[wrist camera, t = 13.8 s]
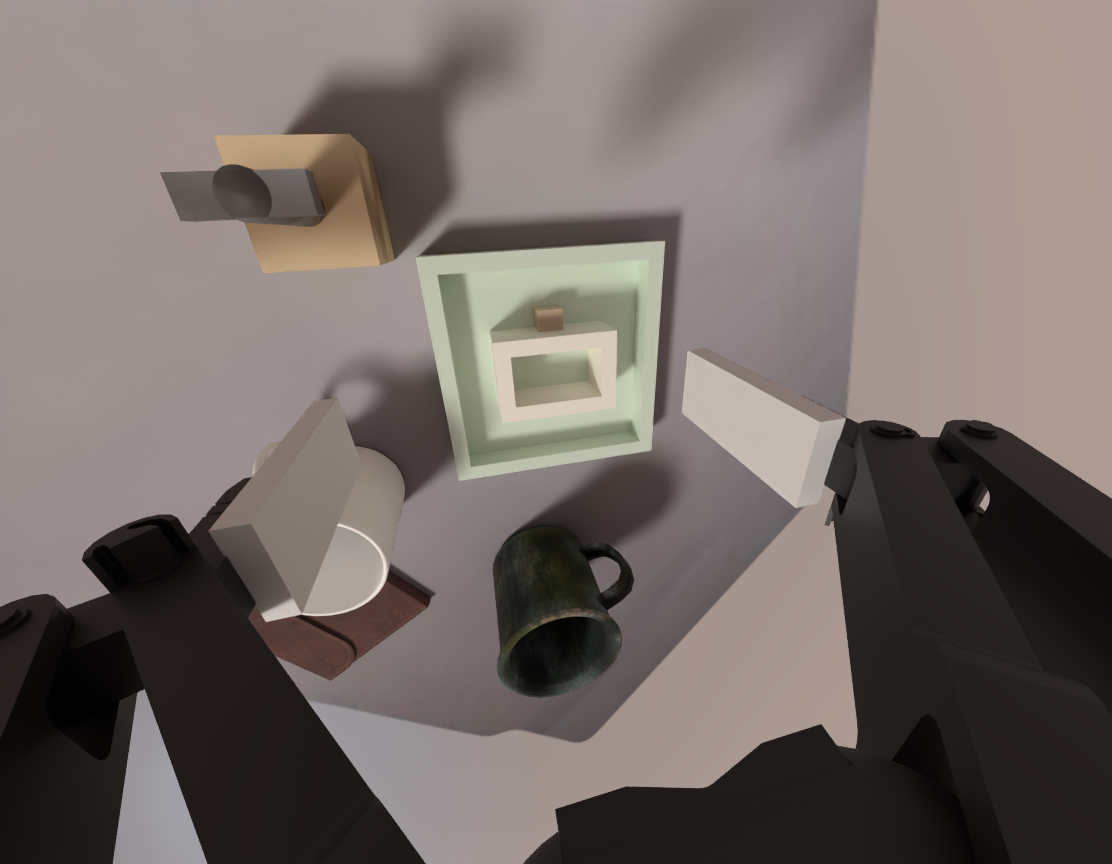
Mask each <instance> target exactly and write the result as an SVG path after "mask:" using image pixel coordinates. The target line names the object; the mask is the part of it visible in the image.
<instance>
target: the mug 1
mask: <svg viewBox="0 0 1112 864" xmlns="http://www.w3.org/2000/svg"><path fill="white" fill-rule="evenodd" d="M280 442H281V441H279V442H275V443H273V444H271V445H269V446H267V447H266V448H265V449H264V450H262V451H261V452H260V454H259V455H258V457H257V458H256V461H255V463H254V467H253V475H254V474H255V473H256V472H257V471H258V469H259V468H260V467H261V466H262V464H263V463H264V462H265V461H266V458H267V455H268V453H269V452H271V451H273V450H275V448H276V447H277V446H278V445H279V443H280ZM355 448H356V451H357V453H358V456H359V459H360V462H361V467H360V470H359V472H358V475H357V477H356V480H355V482H354V485H353V487H352V490H351V493H350V495H349V498H348V500H347V503H346V505H345V508H344V510H343V513H342V515H341V518H340V520H339V523H338V525H337V528H336V530H335V533H334V535H333V538H332V540H331V543H330V545H329V548H328V550H327V553H326V555H325V558H324V560H323V563H322V565H321V568H320V570H319V573H318V575H317V578H316V580H315V583H314V585H313V588H312V590H311V593H310V596H309V598H308V601H307V603H306V606H305V608H304V611H303V613H302V615H310V616H327V615H335V614H341V613H345V612H348V611H351V610H354V609H356V608H358V607H360V606H362V605H364V604H366V603H367V602H369V601H370V600H371V599H372V598H374V597H375V596H376V595H377V594H378V593H379V591H380V590H381V589H382V587H383V586H384V584H385V582H386V579H387V576H388V571H389V567H390V562H391V557H392V553H393V548H394V544H395V539H396V534H397V530H398V525H399V521H400V516H401V511H402V507H403V502H404V495H405V485H404V480H403V477H402V474H401V472H400V471H399V469H398V468H397V466H396V465H395V464H394V463H393V462H392V461H391V460H390V459H388V458H387V457H386V456H384V455H383V454H381V453H379V452H377V451H375V450H372V449H369V448H364V447H358V446H355Z"/></svg>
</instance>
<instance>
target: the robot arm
mask: <svg viewBox="0 0 1112 864" xmlns="http://www.w3.org/2000/svg"><path fill="white" fill-rule="evenodd" d="M682 413H683V414H684V415H685V416H686V417H687V418H689V419H690V420H691V421H692V422H693V423H695V424H696V425H697V426H698V427H699V428H701V429H702V430H703V431H704V432H705V433H707V434H708V435H709V436H710V437H711V438H713V439H714V440H715V441H716V442H717V443H719V444H720V445H721V446H722V447H723V448H725V449H726V450H727V451H728V452H729V453H731V454H732V455H733V456H734V457H735V458H737V459H738V460H739V461H740V462H741V463H743V464H744V465H745V466H746V467H747V468H749V469H750V470H751V471H752V472H753V473H755V474H756V475H757V476H758V477H759V478H760V479H762V480H763V481H764V482H765V483H766V484H768V485H769V486H770V487H771V488H772V489H774V490H775V491H776V492H777V493H778V494H780V495H781V496H782V497H783V498H784V499H786V500H787V501H788V502H789V503H790V504H792V505H793V506H794V507H795V508H798V507H803V506H807V505H811V504H816V503H819V501H820V498H821V495H822V491H823V489H824V486H825V485H826V486H827V487H829V488H830V489H832V490H833V491H834V492H836V493H835V495H834V499H833V501H832V504H831V507H830V510H829V513H828V516H827V519H826V522H825V525H827V526H829V525H830V522H831V521H834V528H835V537H836V545H837V553H838V563H839V571H840V580H841V588H842V597H843V605H844V614H845V622H846V630H847V640H848V648H849V657H850V665H851V674H852V682H853V691H854V699H855V708H856V717H857V728H858V737H857V745H856V749H853V748H847V747H842V746H837V745H836V744H835V742H834V741H833V740H832V738H831V737H830V736H829V734H828V733H827V731H826V730H825V729H824V727H823V726H822V725H817V726H814V727H811V728H808V729H805V730H801V731H799V732H796V733H792V734H789V735H786V736H783V737H780V738H776V739H773V740H770V741H767V742H764V743H761V744H760V745H759V746H758V747H757V748H756V749H754V750H753V751H752V752H750V754H748V755H747V756H746V757H745V758H743V759H742V760H741V761H740V762H739V763H737V764H736V765H735V766H734V767H732V768H731V769H730V770H729V771H728V772H726V773H725V774H724V775H723V776H722V777H720V778H719V779H718V780H717V781H715V782H714V783H713V784H712V785H710V786H708V787H705V788H662V787H623V788H620V789H617V790H614V791H611V792H608V793H605V794H601V795H598V796H595V797H592V798H589V799H586V800H583V801H580V802H576V803H574V804H570V805H567V806H564V807H561V808H558V809H555V811H556V818H557V824H558V830H559V833H558V832H557V833H556V834H554V835H553V836H552V837H550V838H549V839H548V840H546V841H545V842H544V843H542V844H541V846H540V847H539V848H538V849H536V851H535V852H534V853H533V854H532V855H531V856H530V857H529V858H528V859H527V860H526V861H525V862H524V863H523V864H1112V499H1111V498H1110V497H1108V496H1107V495H1105V494H1104V493H1102V492H1100V491H1099V490H1097V489H1096V488H1094V487H1093V486H1091V485H1090V484H1088V483H1087V482H1085V481H1084V480H1082V479H1081V478H1079V477H1078V476H1076V475H1075V474H1073V473H1071V472H1070V471H1068V470H1067V469H1065V468H1064V467H1062V466H1061V465H1059V464H1058V463H1056V462H1055V461H1053V460H1052V459H1050V458H1048V457H1047V456H1045V455H1044V454H1042V453H1041V452H1039V451H1037V450H1036V449H1034V448H1033V447H1032V446H1030V445H1029V444H1027V443H1025V442H1024V441H1022V440H1021V439H1019V438H1018V437H1016V436H1015V435H1013V434H1012V433H1010V432H1008V431H1006V430H1004V429H1002V428H999V427H996V426H993V425H992V424H990V423H987V422H981V421H977V420H972V421H968V420H952V421H949V422H946V424H945V426H944V428H943V430H942V432H941V434H940V437H920V435H919V434H918V433H917V432H916V431H914V430H912V429H911V428H908V427H906V426H903V425H900V424H896V423H893V422H887V421H877V420H871V421H864V422H862V423H857V422H855V421H853V420H850V419H848V418H846V417H844V416H842V415H840V414H838V413H836V412H834V411H832V410H830V409H828V408H825V407H824V406H822V405H820V404H818V403H815V402H814V401H812V400H810V399H808V398H806V397H804V396H802V395H799V394H797V393H795V392H793V391H791V390H789V389H787V388H785V387H783V386H781V385H779V384H777V383H775V382H773V381H771V380H769V379H767V378H765V377H763V376H761V375H759V374H757V373H755V372H753V371H751V370H749V369H747V368H745V367H743V366H741V365H739V364H737V363H735V362H732V361H730V360H728V359H726V358H724V357H722V356H720V355H718V354H716V353H714V352H712V351H710V350H708V349H706V348H702V349H695V350H688V355H687V365H686V375H685V385H684V395H683V406H682ZM360 467H361V462H360V459H359V456H358V453H357V451H356V448H355V445H354V442H353V439H352V437H351V434H350V431H349V428H348V425H347V422H346V420H345V417H344V414H343V411H342V408H341V406H340V403H339V400H338V398H333V399H325V400H318V401H314V402H313V403H312V404H311V405H310V407H309V408H308V409H307V410H306V411H305V413H304V414H303V415H302V416H301V418H300V419H299V420H298V421H297V423H296V424H295V425H294V426H293V427H292V429H291V430H290V431H289V432H288V434H287V435H286V436H285V437H284V439H283V440H282V441H281V442H280V443H279V445H278V446H277V447H276V448H275V450H274V451H273V452H272V453H271V455H270V456H269V457H268V458H267V459H266V461H265V462H264V463H263V464H262V466H261V467H260V468H259V469H258V471H257V472H256V473H255V474H254V475H253V477H250V478H244V479H243V480H241V481H240V482H238V483H237V484H236V485H234V486H233V487H231V488H230V489H228V490H227V491H226V492H225V493H224V494H223V495H222V497H221V498H220V499H219V500H218V501H217V502H216V503H215V504H216V506H213V507H212V508H211V509H210V510H209V512H208V513H207V514H206V517H203V518H202V520H201V521H200V522H199V523H198V524H197V525H196V527H195V528H194V529H193V530H192V531H191V532H190V533H189V534H188V533H187V531H186V530H185V528H184V527H183V525H182V524H181V522H180V521H179V519H178V518H177V517H175V516H173V515H155V516H151V517H146V518H142V519H139V520H137V521H134V522H131V523H128V524H126V525H124V526H122V527H120V528H118V529H115V530H113V531H111V532H109V533H108V534H106V535H105V536H103V537H102V538H100V539H99V540H97V541H96V542H94V543H93V544H92V545H91V546H90V547H89V548H88V549H87V550H86V551H85V552H84V555H83V558H82V561H83V562H84V563H85V564H86V566H87V567H88V568H89V569H90V570H91V571H92V572H93V574H94V575H95V576H96V577H97V578H98V579H99V580H100V582H101V583H102V584H103V585H104V586H105V587H106V588H107V590H108V591H109V592H110V593H109V594H107V595H104V596H101V597H98V598H96V599H93V600H90V601H87V602H84V603H82V604H79V605H76V606H73V607H71V608H68V609H66V608H65V607H64V606H63V605H62V604H61V603H60V602H59V601H58V600H57V599H56V598H55V597H54V596H51V595H48V594H42V595H33V596H29V597H26V598H23V599H19V600H16V601H13V602H10V603H8V604H6V605H4V606H1V607H0V864H113V857H114V850H115V843H116V835H117V829H118V822H119V815H120V808H121V801H122V794H123V787H124V780H125V774H126V766H127V759H128V752H129V746H130V738H131V732H132V724H133V718H134V710H135V704H136V697H137V692H139V691H141V690H144V689H145V691H146V693H147V696H148V699H149V702H150V705H151V707H152V710H153V713H154V716H155V719H156V721H157V724H158V727H159V730H160V733H161V735H162V738H163V741H164V744H165V746H166V749H167V752H168V755H169V758H170V760H171V763H172V766H173V769H174V772H175V774H176V777H177V780H178V783H179V785H180V788H181V791H182V794H183V797H184V799H185V802H186V805H187V808H188V810H189V813H190V816H191V819H192V822H193V824H194V827H195V830H196V833H197V836H198V838H199V841H200V844H201V847H202V850H203V852H204V855H205V858H206V861H207V864H425V862H424V861H423V859H422V858H421V857H420V855H419V854H418V852H417V851H416V850H415V848H414V847H413V845H412V844H411V843H410V841H409V840H408V839H407V837H406V836H405V835H404V833H403V832H402V830H401V829H400V827H399V826H398V825H397V823H396V822H395V820H394V819H393V818H392V816H391V815H390V814H389V812H388V811H387V810H386V808H385V807H384V806H383V804H382V803H381V802H380V800H379V799H378V798H377V797H376V796H375V795H374V794H373V792H372V791H371V790H370V788H369V787H368V785H367V784H366V783H365V781H364V780H363V778H362V777H361V776H360V774H359V773H358V772H357V770H356V769H355V767H354V766H353V764H352V763H351V762H350V760H349V759H348V757H347V756H346V755H345V753H344V752H343V751H342V749H341V748H340V746H339V745H338V744H337V742H336V741H335V739H334V738H333V736H332V735H331V734H330V732H329V731H328V729H327V728H326V727H325V726H324V724H323V723H322V721H321V720H320V718H319V717H318V716H317V714H316V713H315V712H314V710H313V709H312V707H311V706H310V705H309V703H308V702H307V700H306V699H305V697H304V696H303V695H302V693H301V692H300V690H299V689H298V688H297V686H296V685H295V683H294V682H293V681H292V679H291V678H290V676H289V675H288V674H287V672H286V671H285V669H284V668H283V667H282V665H281V664H280V662H279V661H278V660H277V658H276V657H275V655H274V654H273V653H272V651H271V650H270V648H269V647H268V646H267V644H266V643H265V641H264V640H263V639H262V637H261V636H260V634H259V633H258V632H257V630H256V629H255V627H254V626H253V625H252V623H251V622H250V620H249V619H248V618H249V616H250V614H251V612H252V610H253V608H254V606H255V605H256V607H257V609H258V610H259V612H260V613H261V615H262V616H263V618H264V620H265V621H266V622H269V621H273V620H278V619H283V618H287V617H292V616H297V615H301V614H302V613H303V611H304V608H305V606H306V603H307V601H308V598H309V596H310V593H311V590H312V588H313V585H314V583H315V580H316V578H317V575H318V573H319V570H320V568H321V565H322V563H323V560H324V558H325V555H326V553H327V550H328V548H329V545H330V543H331V540H332V538H333V535H334V533H335V530H336V528H337V525H338V523H339V520H340V518H341V515H342V513H343V510H344V508H345V505H346V503H347V500H348V498H349V495H350V493H351V490H352V487H353V485H354V482H355V480H356V477H357V475H358V472H359V470H360ZM987 491H989V494H990V502H989V505H988V507H987V509H986V511H984V510H983V509H982V508H981V507H980V506H979V505H980V503H981V502H982V500H983V498H984V496H985V494H986V493H987ZM559 837H560V838H559Z"/></svg>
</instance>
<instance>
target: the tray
mask: <svg viewBox="0 0 1112 864" xmlns="http://www.w3.org/2000/svg"><path fill="white" fill-rule="evenodd" d="M664 249H665V241H635V242H620V243H604V244H589V245H573V246H558V247H542V248H526V249H511V250H495V251H480V252H464V253H449V254H433V255H419V256H417V257H416V262H417V267H418V272H419V277H420V283H421V288H422V293H423V298H424V303H425V308H426V313H427V319H428V324H429V329H430V334H431V339H432V344H433V349H434V355H435V360H436V365H437V370H438V375H439V380H440V385H441V391H442V396H443V401H444V406H445V411H446V416H447V421H448V426H449V432H450V437H451V442H452V447H453V452H454V457H455V462H456V468H457V473H458V478H459V481H461V480H467V479H474V478H480V477H486V476H493V475H499V474H505V473H512V472H518V471H524V470H531V469H537V468H543V467H550V466H556V465H563V464H569V463H575V462H582V461H588V460H594V459H601V458H607V457H613V456H620V455H626V454H632V453H639V452H645V451H651V445H652V430H653V415H654V400H655V385H656V370H657V355H658V340H659V324H660V309H661V294H662V279H663V264H664ZM548 305H558V306H560V307H561V308H562V309H563V324H570V323H580V322H590V321H600V320H601V321H602V322H604V323H606V324H607V325H609V326H611V327H612V328H614V329H616V330H617V365H616V408H612V409H605V410H598V411H590V412H583V413H576V414H568V415H561V416H554V417H547V418H539V419H532V420H525V421H517V422H510V423H503V424H502V419H501V415H500V410H499V405H498V398H497V390H496V383H495V375H494V367H493V359H492V351H491V343H490V336H489V331H498V330H508V329H519V328H529V327H534V317H533V307H536V306H548ZM511 364H512V374H513V383H514V390H516V389H524V388H532V387H540V386H548V385H556V384H564V383H573V382H581V381H588V349H585V350H576V351H567V352H558V353H549V354H540V355H530V356H521V357H512V358H511Z"/></svg>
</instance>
